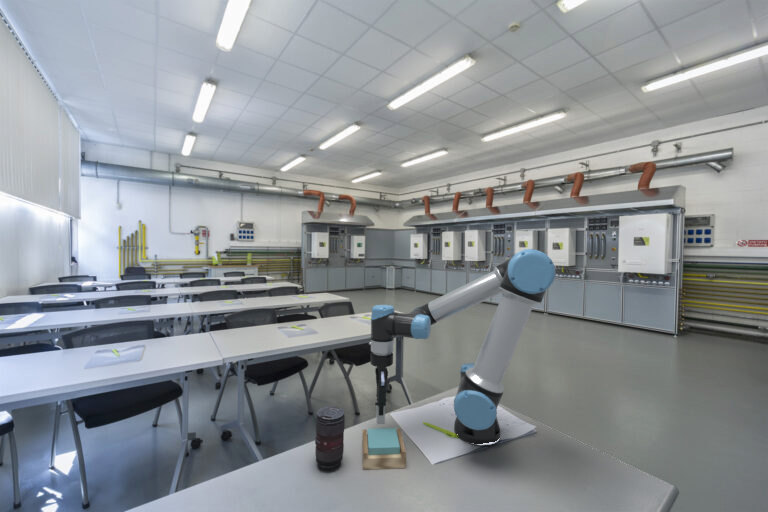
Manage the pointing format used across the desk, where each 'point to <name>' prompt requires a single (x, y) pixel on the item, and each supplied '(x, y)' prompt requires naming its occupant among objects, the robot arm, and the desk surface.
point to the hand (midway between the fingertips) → (380, 422)
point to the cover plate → (383, 441)
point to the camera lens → (329, 438)
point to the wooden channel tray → (383, 456)
